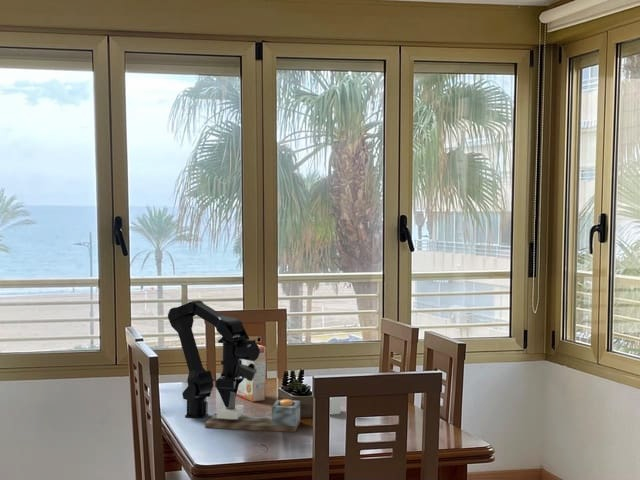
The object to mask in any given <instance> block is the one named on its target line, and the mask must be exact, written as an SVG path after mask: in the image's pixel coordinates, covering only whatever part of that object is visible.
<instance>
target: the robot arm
mask: <svg viewBox="0 0 640 480" xmlns="http://www.w3.org/2000/svg"><path fill="white" fill-rule="evenodd" d="M195 316H198V317H199V318H201V319H202V320H203V321H205V322H207V323H208V324H210V325H212V326H213V327H214V328H215V329H216V330H215V331H216V332H217V333H218V334H219V335H220V336H222V337H221V338H220V339H219V340H217V342H218V343H219V344H222V360H221V361H220V365H221V366H222V372H220V376H219V377H218V378H217V379H216V380H214V379H213V375H212V371H211V370H206V369H205V368H204V366H203V362H202V359H201V356H200V353H199V349H198V346H197V342H196V339H195V335H194V333H193V325H194V317H195ZM167 319H168V321H169V323H170V326H171V328H172V329H174V331H176V332H177V334H178V338H179V341H180V346H181V348H182V352H183V356H184V358H185V362H186V365H187V369H188V376H187V380H186V381H187V382H186V383H187V387H186V388H185V389H184V390H183V392H182V399H183V400H186V414H185V415H184V417H185V418H198V419H199V418H201V419H202V418H204V417H206V415H208V413H209V402H208V401H207V398H209V397H211V394H212V391H213V388H214V387H215V389H216V390H217V392H218V394H219V396H220V398H221V401H222V402H223V405H225V407H229V403H230V397H231V392H234V393H235V400H236V397H237V391H238V387H239V384H240V383H241V382H242V381H243V380H244V378H246V379H247V380H249V381H252V380H253V379H254V376H255V374H256V371H257V370H256V369H255V364H252V363H250V364H249V365H248V366H247V365H243V364H242V360H241V359H244V360H250V361H255V360H256V359H257V358H258V357H259V354H260V349H259V347H258V345H259V344H258V345H257V342H256V339H250V337H249V335H248V333H247V330H246V329H245V327H244V325H243V322H242V320H240V319H238V318H235V317H232V316H225V315H224V314H223V313H220V312H219V311H217V310H215V309H214V308H212V307H210V306H209V305H207V304H205V303H204V302H203V301H201V300H200V299H199V300H198V299H197V300H190V301H188V302H186V303H184V304H182V305H179V306H177V307H175V306H174V307H172V308H170V309H169V310H168V313H167ZM240 377H242V378H240Z"/></svg>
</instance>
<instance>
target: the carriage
mask: <svg viewBox="0 0 640 480" xmlns="http://www.w3.org/2000/svg"><path fill="white" fill-rule="evenodd" d="M244 408H245V407H244V405H243V404H241V405H240V404H236V399H235V393H234V392H231V397H230V403H229V407H225V405H224V404H223V405H221V406H220V407H219V408H218V410H216V414H217V418H221V419H238V418H239V417H240V416H241V415H243V414H244Z"/></svg>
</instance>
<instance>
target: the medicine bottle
mask: <svg viewBox="0 0 640 480" xmlns="http://www.w3.org/2000/svg"><path fill="white" fill-rule="evenodd" d="M341 398H342V397H341ZM341 398H332V399H331V400H330V413H331V415H330V416H333V415H341V411H342V408H341V406H342V405H341V404H342V402H341V401H342V399H341Z"/></svg>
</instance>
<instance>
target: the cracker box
mask: <svg viewBox="0 0 640 480" xmlns="http://www.w3.org/2000/svg"><path fill="white" fill-rule="evenodd" d="M256 344H257V343H256ZM257 345H258V347H259V349H260V354H259V357H258V358H257V359H256V360H255V361H250V360H244V359H241V360H242V364H243V365H247V366H248V365H249V364H250V363H252V364H255V369H256V370H257V371H256V374H255V376H254V379H253V380H252V381H249V380H247V379H246V378H244V380H243V381H242V382H241V383H240V384H239V387H238V391H237V395H236V397H240V398H243V399H244V400H247V401H250V402H263V401H265V400H266V371H267V370H266V367H267V366H266V365H267V364H266V363H267V346H264V345H260V344H257ZM240 378H242V377H240Z"/></svg>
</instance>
